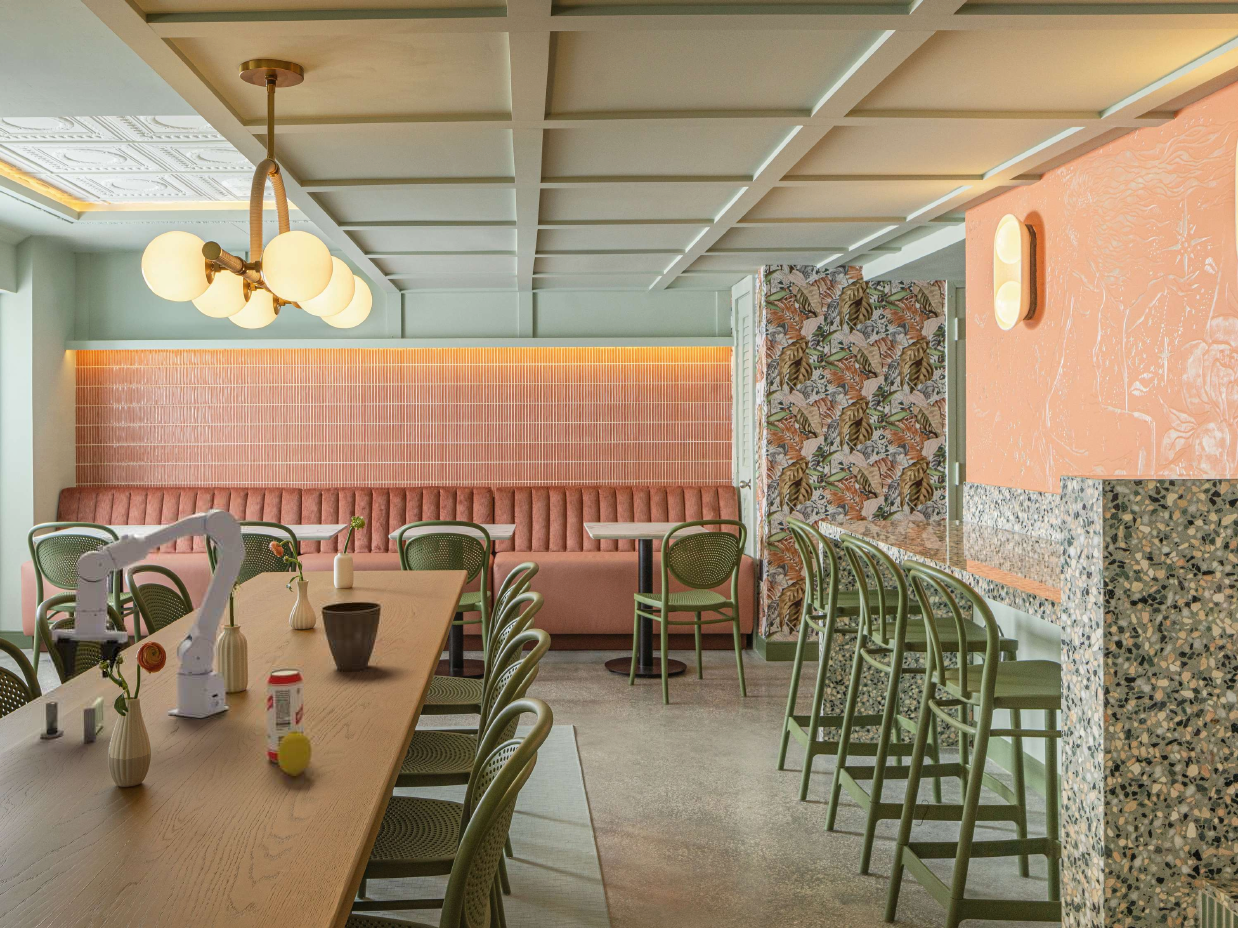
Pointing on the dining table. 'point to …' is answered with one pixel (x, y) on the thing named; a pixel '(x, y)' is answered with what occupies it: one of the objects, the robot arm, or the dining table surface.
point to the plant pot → (351, 632)
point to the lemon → (294, 753)
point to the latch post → (52, 722)
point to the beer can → (283, 707)
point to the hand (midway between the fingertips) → (88, 676)
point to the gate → (93, 719)
